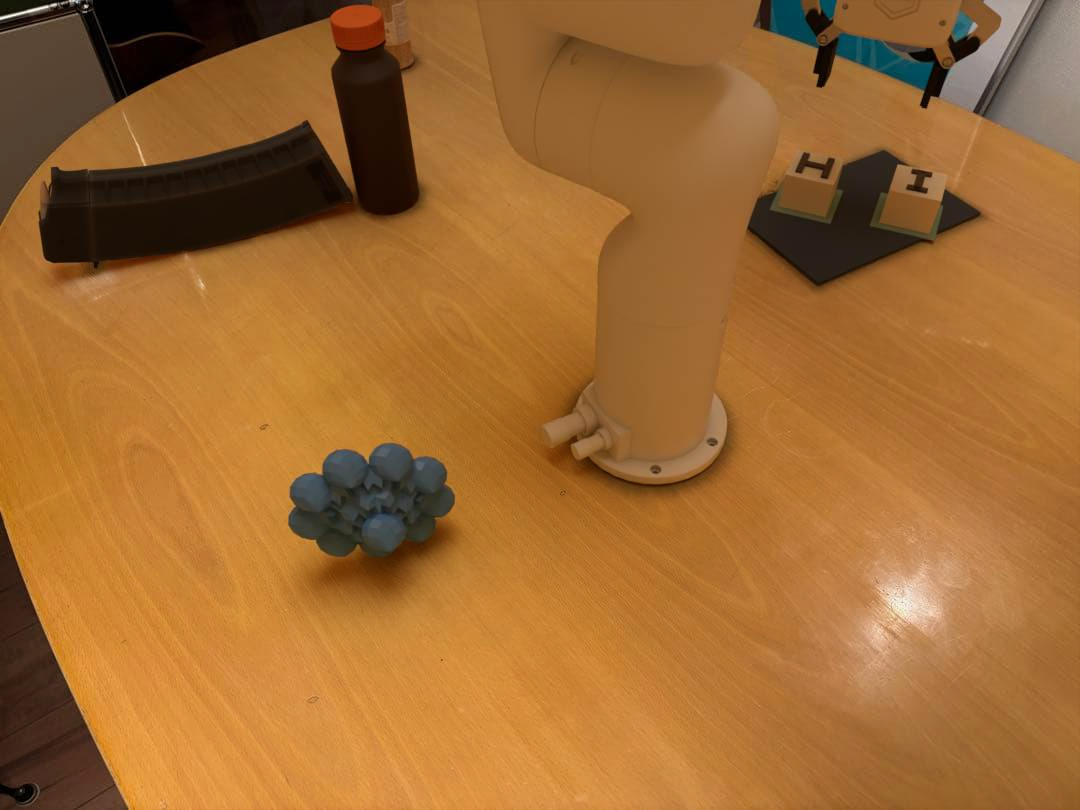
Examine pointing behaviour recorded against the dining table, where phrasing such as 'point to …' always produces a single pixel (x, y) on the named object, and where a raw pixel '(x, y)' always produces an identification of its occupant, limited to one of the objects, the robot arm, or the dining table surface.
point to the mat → (847, 222)
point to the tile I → (913, 199)
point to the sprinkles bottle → (396, 29)
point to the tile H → (810, 183)
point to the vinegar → (373, 111)
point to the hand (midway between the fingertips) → (873, 91)
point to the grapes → (370, 501)
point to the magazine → (188, 200)
